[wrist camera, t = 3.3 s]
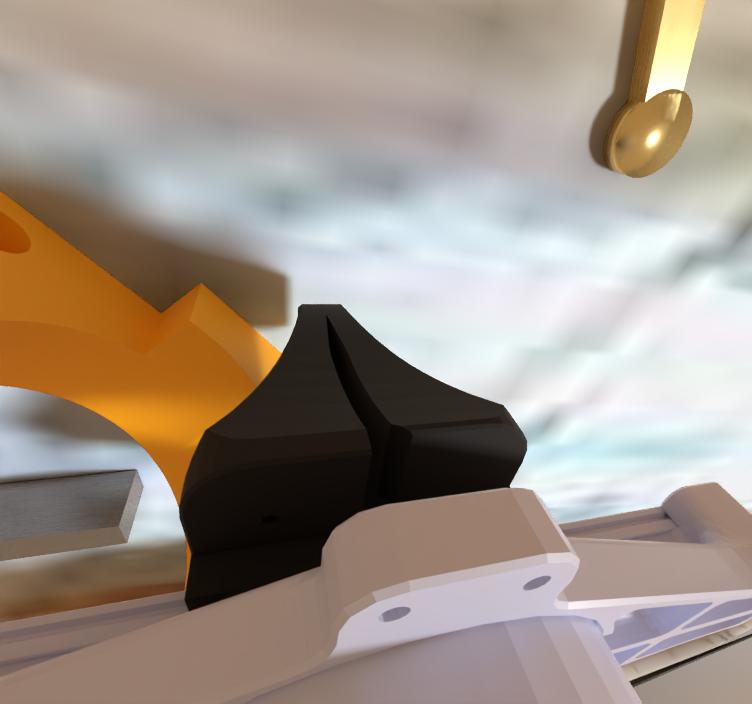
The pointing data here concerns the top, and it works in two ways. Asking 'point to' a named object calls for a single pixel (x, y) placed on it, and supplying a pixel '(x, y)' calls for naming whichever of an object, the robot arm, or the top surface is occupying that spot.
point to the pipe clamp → (121, 345)
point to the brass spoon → (656, 91)
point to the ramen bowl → (682, 654)
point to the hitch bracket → (67, 513)
